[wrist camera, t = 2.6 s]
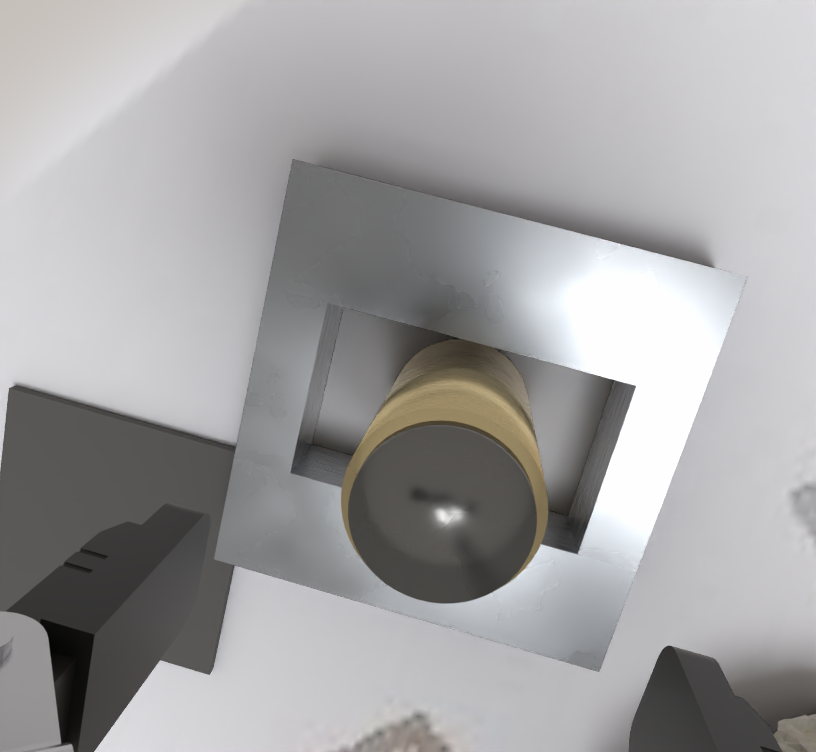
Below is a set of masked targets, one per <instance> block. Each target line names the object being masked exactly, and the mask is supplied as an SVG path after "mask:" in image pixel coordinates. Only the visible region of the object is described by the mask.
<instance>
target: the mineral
mask: <svg viewBox="0 0 816 752" xmlns="http://www.w3.org/2000/svg"><path fill="white" fill-rule="evenodd" d="M773 735H774V737H775V739H776V740H777V742H778V744H779V746H780V748H781V750H782V751H783V752H816V714H812V715H809V716H806V715H802V716H799V717H795V718H792V719H783V720H780V721H778V730H777V731H776V732H775V733H774V734H773Z"/></svg>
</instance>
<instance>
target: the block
mask: <svg viewBox="0 0 816 752" xmlns="http://www.w3.org/2000/svg"><path fill="white" fill-rule="evenodd" d="M747 278H748V277H747V276H743V275H739V274H735V273H731V272H727V271H724V270H720V269H716V268H712V267H708V266H704V265H700V264H696V263H693V262H689V261H685V260H681V259H677V258H673V257H669V256H666V255H662V254H658V253H654V252H650V251H646V250H642V249H638V248H635V247H631V246H627V245H623V244H619V243H615V242H611V241H607V240H604V239H600V238H596V237H592V236H588V235H584V234H580V233H577V232H573V231H569V230H565V229H561V228H557V227H553V226H549V225H546V224H542V223H538V222H534V221H530V220H526V219H522V218H519V217H515V216H511V215H507V214H503V213H499V212H495V211H491V210H488V209H484V208H480V207H476V206H472V205H468V204H464V203H461V202H457V201H453V200H449V199H445V198H441V197H437V196H433V195H430V194H426V193H422V192H418V191H414V190H410V189H406V188H402V187H399V186H395V185H391V184H387V183H383V182H379V181H375V180H372V179H368V178H364V177H360V176H356V175H352V174H348V173H344V172H341V171H337V170H333V169H329V168H325V167H321V166H317V165H314V164H310V163H306V162H302V161H298V160H294V159H293V161H292V166H291V171H290V176H289V181H288V186H287V191H286V196H285V201H284V206H283V212H282V217H281V222H280V227H279V232H278V237H277V242H276V247H275V252H274V257H273V262H272V267H271V272H270V277H269V283H268V288H267V293H266V298H265V303H264V308H263V313H262V318H261V323H260V328H259V333H258V338H257V343H256V349H255V354H254V359H253V364H252V369H251V374H250V379H249V384H248V389H247V394H246V399H245V404H244V409H243V414H242V420H241V425H240V430H239V435H238V440H237V445H236V450H235V455H234V460H233V465H232V470H231V475H230V480H229V486H228V491H227V496H226V501H225V506H224V511H223V516H222V521H221V526H220V531H219V536H218V541H217V546H216V551H215V557H214V560H218V561H221V562H225V563H228V564H232V565H235V566H238V567H242V568H245V569H249V570H252V571H256V572H259V573H262V574H266V575H269V576H273V577H276V578H280V579H283V580H286V581H290V582H293V583H297V584H300V585H303V586H307V587H310V588H314V589H317V590H321V591H324V592H327V593H331V594H334V595H338V596H341V597H345V598H348V599H351V600H355V601H358V602H362V603H365V604H368V605H372V606H375V607H379V608H382V609H386V610H389V611H392V612H396V613H399V614H403V615H406V616H410V617H413V618H416V619H420V620H423V621H427V622H430V623H433V624H437V625H440V626H444V627H447V628H451V629H454V630H457V631H461V632H464V633H468V634H471V635H475V636H478V637H481V638H485V639H488V640H492V641H495V642H499V643H502V644H505V645H509V646H512V647H516V648H519V649H522V650H526V651H529V652H533V653H536V654H540V655H543V656H546V657H550V658H553V659H557V660H560V661H564V662H567V663H570V664H574V665H577V666H581V667H584V668H587V669H591V670H594V671H598V672H599V671H600V668H601V665H602V663H603V660H604V657H605V655H606V652H607V649H608V647H609V644H610V641H611V639H612V636H613V633H614V631H615V628H616V625H617V623H618V620H619V617H620V615H621V612H622V610H623V607H624V604H625V602H626V599H627V596H628V594H629V591H630V588H631V586H632V583H633V580H634V578H635V575H636V572H637V570H638V567H639V564H640V562H641V559H642V556H643V554H644V551H645V548H646V546H647V543H648V541H649V538H650V535H651V533H652V530H653V527H654V525H655V522H656V519H657V517H658V514H659V511H660V509H661V506H662V503H663V501H664V498H665V495H666V493H667V490H668V487H669V485H670V482H671V479H672V477H673V474H674V471H675V469H676V466H677V464H678V461H679V458H680V456H681V453H682V450H683V448H684V445H685V442H686V440H687V437H688V434H689V432H690V429H691V426H692V424H693V421H694V418H695V416H696V413H697V410H698V408H699V405H700V402H701V400H702V397H703V395H704V392H705V389H706V387H707V384H708V381H709V379H710V376H711V373H712V371H713V368H714V365H715V363H716V360H717V357H718V355H719V352H720V349H721V347H722V344H723V341H724V339H725V336H726V333H727V331H728V328H729V325H730V323H731V320H732V318H733V315H734V312H735V310H736V307H737V304H738V302H739V299H740V296H741V294H742V291H743V288H744V286H745V283H746V280H747ZM343 307H345V308H349V309H353V310H356V311H360V312H364V313H368V314H371V315H375V316H379V317H382V318H386V319H390V320H394V321H397V322H401V323H405V324H409V325H412V326H416V327H420V328H423V329H427V330H431V331H435V332H438V333H442V334H446V335H449V336H453V337H457V338H461V339H464V340H468V341H472V342H475V343H479V344H483V345H487V346H490V347H494V348H498V349H501V350H505V351H509V352H513V353H516V354H520V355H524V356H527V357H531V358H535V359H539V360H542V361H546V362H550V363H553V364H557V365H561V366H565V367H568V368H572V369H576V370H579V371H583V372H587V373H591V374H594V375H598V376H602V377H605V378H609V379H613V380H614V382H613V385H612V388H611V391H610V394H609V396H608V399H607V402H606V405H605V408H604V411H603V414H602V417H601V420H600V423H599V426H598V429H597V432H596V435H595V438H594V441H593V444H592V447H591V449H590V452H589V455H588V458H587V461H586V464H585V467H584V470H583V473H582V476H581V479H580V482H579V485H578V488H577V491H576V494H575V497H574V500H573V502H572V505H571V508H570V511H569V514H568V516H566V515H562V514H558V513H555V512H551V511H548V520H547V526H546V530H545V534H544V537H543V540H542V542H541V545H540V547H539V549H538V551H537V553H536V554H535V556H534V558H533V559H532V561H531V562H530V563H529V564H528V566H527V567H526V568H525V569H524V570H523V571H522V572H521V573H520V574H519V575H518V576H517V577H516V578H515V579H513V580H512V581H510V582H509V583H508V584H506V585H505V586H503V587H501V588H499V589H498V590H496V591H494V592H492V593H490V594H488V595H486V596H483V597H481V598H478V599H475V600H471V601H467V602H461V603H453V604H441V603H431V602H426V601H422V600H417V599H415V598H412V597H409V596H406V595H404V594H402V593H400V592H398V591H396V590H394V589H393V588H391V587H390V586H388V585H387V584H385V583H384V582H383V581H382V580H381V579H379V578H378V577H377V576H376V575H375V574H374V573H373V572H372V571H371V570H370V569H369V568H368V566H367V565H366V564H365V563H364V562H363V561H362V559H361V558H360V556H359V555H358V554H357V552H356V551H355V549H354V547H353V545H352V544H351V542H350V540H349V537H348V535H347V532H346V530H345V526H344V522H343V518H342V510H341V490H342V484H343V479H344V476H345V473H346V470H347V467H348V465H349V463H350V461H351V459H352V457H353V456H352V455H348V454H345V453H341V452H338V451H334V450H330V449H327V448H323V447H320V446H316V445H313V444H312V443H313V438H314V434H315V430H316V425H317V421H318V416H319V412H320V408H321V403H322V399H323V394H324V390H325V386H326V381H327V377H328V372H329V368H330V364H331V359H332V355H333V350H334V346H335V342H336V337H337V333H338V328H339V324H340V320H341V315H342V311H343Z"/></svg>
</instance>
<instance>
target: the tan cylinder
mask: <svg viewBox="0 0 816 752" xmlns="http://www.w3.org/2000/svg"><path fill="white" fill-rule="evenodd" d="M341 510H342V518H343V522H344V526H345V530H346V532H347V535H348V537H349V540H350V542H351V544H352V545H353V547H354V549H355V551H356V552H357V554H358V555H359V556H360V558H361V559H362V561H363V562H364V563H365V564H366V565H367V566H368V568H369V569H370V570H371V571H372V572H373V573H374V574H375V575H376V576H377V577H378V578H379V579H381V580H382V581H383V582H384V583H385V584H387V585H388V586H390V587H391V588H393V589H394V590H396V591H398V592H400V593H402V594H404V595H406V596H409V597H412V598H415V599H417V600H422V601H426V602H431V603H441V604H453V603H461V602H467V601H471V600H475V599H478V598H481V597H483V596H486V595H488V594H490V593H492V592H494V591H496V590H498V589H499V588H501V587H503V586H505V585H506V584H508V583H509V582H510V581H512V580H513V579H515V578H516V577H517V576H518V575H519V574H520V573H521V572H522V571H523V570H524V569H525V568H526V567H527V566H528V564H529V563H530V562H531V561H532V559H533V558H534V556H535V554H536V553H537V551H538V549H539V547H540V545H541V542H542V540H543V537H544V534H545V530H546V526H547V520H548V497H547V491H546V486H545V481H544V476H543V471H542V466H541V460H540V455H539V450H538V445H537V440H536V435H535V430H534V425H533V420H532V415H531V410H530V405H529V400H528V395H527V390H526V387H525V384H524V381H523V379H522V377H521V375H520V373H519V372H518V370H517V369H516V367H515V366H514V365H513V363H512V362H511V361H510V360H509V359H508V358H507V357H506V356H504V355H503V354H502V353H501V352H499V351H498V350H496V349H495V348H493V347H490V346H487V345H483V344H479V343H475V342H472V341H468V340H464V339H452V340H446V341H441V342H438V343H435V344H432V345H430V346H428V347H426V348H424V349H423V350H421V351H420V352H418V353H417V354H416V355H414V356H413V357H412V358H411V359H410V360H409V361H408V362H407V364H406V365H405V366H404V368H403V369H402V371H401V372H400V374H399V376H398V377H397V379H396V381H395V383H394V384H393V386H392V388H391V390H390V391H389V393H388V395H387V397H386V399H385V400H384V402H383V404H382V406H381V407H380V409H379V411H378V413H377V414H376V416H375V418H374V420H373V421H372V423H371V425H370V427H369V428H368V430H367V432H366V434H365V435H364V437H363V439H362V441H361V443H360V444H359V446H358V448H357V450H356V451H355V453H354V455H353V457H352V459H351V461H350V463H349V465H348V467H347V470H346V473H345V476H344V479H343V484H342V490H341Z"/></svg>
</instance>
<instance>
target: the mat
mask: <svg viewBox="0 0 816 752" xmlns="http://www.w3.org/2000/svg"><path fill="white" fill-rule="evenodd" d="M235 450H236V448H234V447H231V446H227V445H224V444H220V443H216V442H213V441H209V440H206V439H202V438H199V437H195V436H192V435H188V434H185V433H181V432H178V431H174V430H171V429H167V428H163V427H160V426H156V425H153V424H149V423H146V422H142V421H139V420H135V419H132V418H128V417H125V416H121V415H117V414H114V413H110V412H107V411H103V410H100V409H96V408H93V407H89V406H86V405H82V404H79V403H75V402H72V401H68V400H64V399H61V398H57V397H54V396H50V395H47V394H43V393H40V392H36V391H33V390H29V389H26V388H22V387H18V386H14V387H11V388H9V394H8V403H7V413H6V423H5V432H4V442H3V452H2V461H1V471H0V611H1V612H5V611H6V610H8V609H9V608H10V607H11V606H12V605H14V604H15V603H16V602H17V601H18V600H20V599H21V598H22V597H23V596H24V595H25V594H27V593H28V592H29V591H30V590H31V589H33V588H34V587H35V586H36V585H37V584H39V583H40V582H41V581H42V580H43V579H44V578H46V577H47V576H48V575H49V574H50V573H52V572H53V571H54V570H55V569H56V568H57V567H59V566H60V565H61V566H63V564H64V562H65V561H66V560H67V559H68V558H69V557H71V556H72V555H73V554H74V553H75V552H76V551H77V552H79V551H80V548H81V547H82V546H84V545H85V544H86V543H87V542H88V541H90V540H91V539H92V538H93V537H94V536H95V535H97V534H98V533H99V532H101V531H103V530H106V529H109V528H111V527H114V526H117V525H119V524H122V523H124V522H127V521H129V522H132V523H136V524H139V525H142V524H143V523H144V522H146V521H147V520H148V519H149V518H150V517H151V516H152V515H153V514H154V513H155V512H156V511H157V510H159V509H160V508H161V507H162V506H163V505H164V504H165V503H173V504H176V505H180V506H183V507H187V508H190V509H194V510H198V511H201V512H205V513H208V514H209V515H210V530H209V535H208V540H207V545H206V551H205V556H204V561H203V567H202V572H201V577H200V583H199V588H198V593H197V597H196V600H195V603H194V606H193V609H192V611H191V614H190V616H189V618H188V620H187V622H186V624H185V625H184V627H183V629H182V630H181V632H180V633H179V634H178V636H177V637H176V638H175V640H174V641H173V643H172V644H171V645H170V647H169V648H168V650H167V651H166V652H165V654H164V655H163V657H162V658H161V659H160V660H162V661H165V662H168V663H172V664H175V665H178V666H182V667H185V668H188V669H192V670H195V671H198V672H202V673H205V674H208V675H210V673H211V671H212V670H213V667H214V662H215V657H216V652H217V647H218V642H219V638H220V633H221V628H222V623H223V618H224V613H225V608H226V604H227V599H228V594H229V589H230V584H231V579H232V575H233V570H234V565H232V564H228V563H225V562H221V561H218V560H214V557H215V551H216V546H217V541H218V536H219V531H220V526H221V521H222V516H223V511H224V506H225V501H226V496H227V491H228V486H229V480H230V475H231V470H232V465H233V460H234V455H235Z"/></svg>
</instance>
